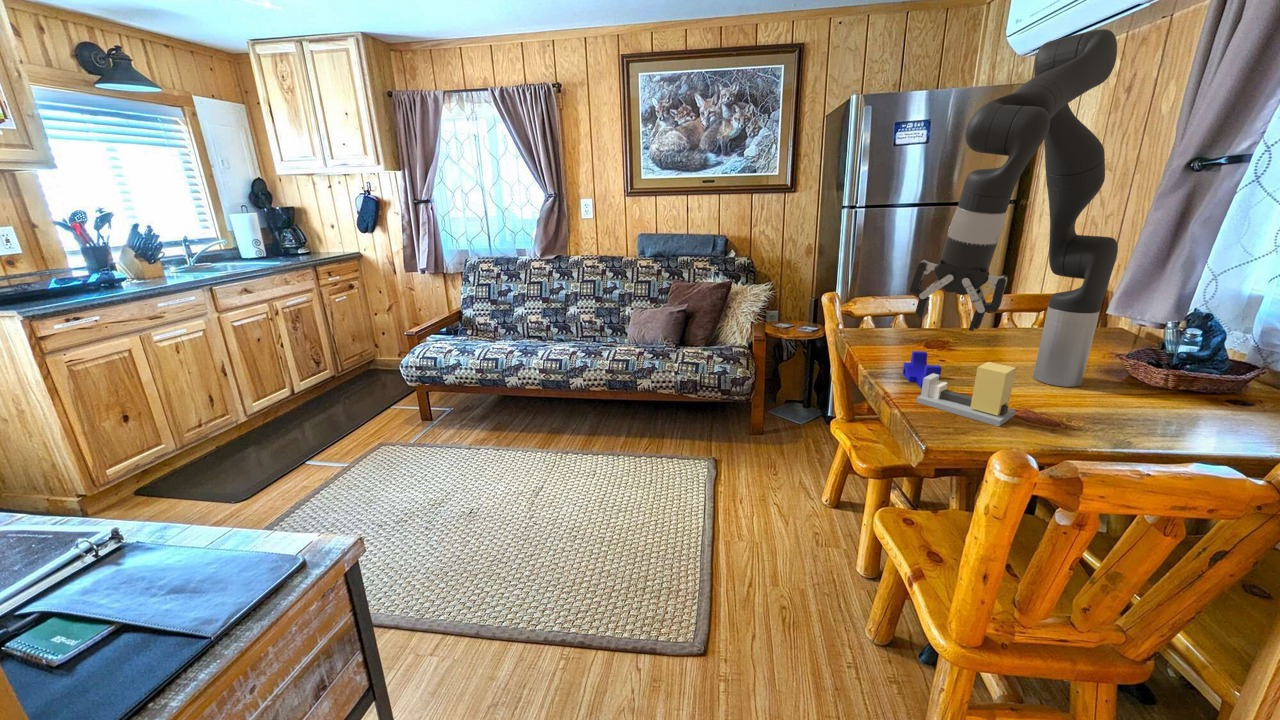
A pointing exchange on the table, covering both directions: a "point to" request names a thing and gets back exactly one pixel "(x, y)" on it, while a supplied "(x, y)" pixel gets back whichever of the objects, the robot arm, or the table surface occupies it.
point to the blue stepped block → (919, 368)
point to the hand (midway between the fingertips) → (945, 322)
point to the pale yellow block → (992, 387)
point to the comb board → (957, 402)
